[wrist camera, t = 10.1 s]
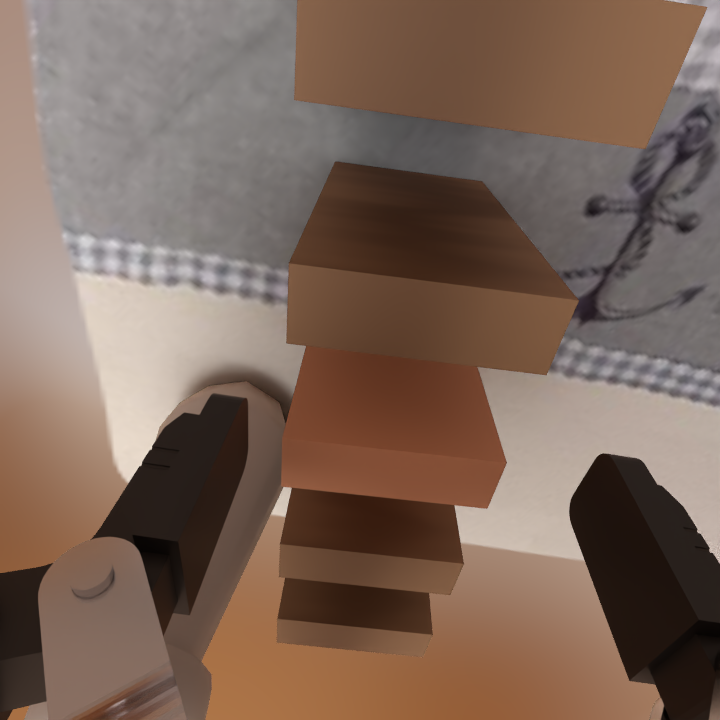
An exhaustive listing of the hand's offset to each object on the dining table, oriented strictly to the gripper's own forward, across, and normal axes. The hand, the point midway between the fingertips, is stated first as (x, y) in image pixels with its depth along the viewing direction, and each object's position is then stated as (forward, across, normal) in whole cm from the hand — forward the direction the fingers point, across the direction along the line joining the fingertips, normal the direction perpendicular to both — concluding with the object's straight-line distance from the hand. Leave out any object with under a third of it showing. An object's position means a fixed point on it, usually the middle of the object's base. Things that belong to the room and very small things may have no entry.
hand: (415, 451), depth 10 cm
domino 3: (+9, +1, 0) cm, 9 cm away
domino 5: (+9, +1, +8) cm, 12 cm away
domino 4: (+9, +1, +4) cm, 10 cm away
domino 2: (+9, +1, -4) cm, 9 cm away
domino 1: (+9, +1, -8) cm, 12 cm away
